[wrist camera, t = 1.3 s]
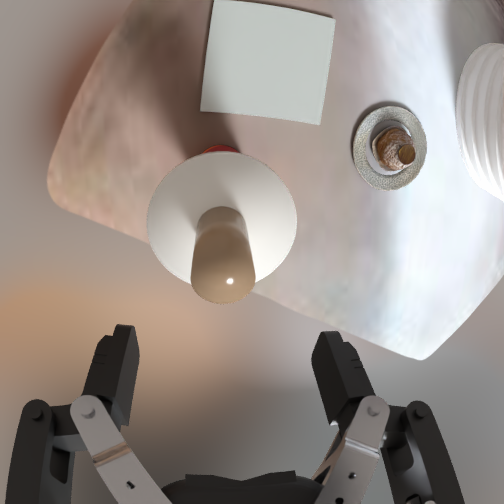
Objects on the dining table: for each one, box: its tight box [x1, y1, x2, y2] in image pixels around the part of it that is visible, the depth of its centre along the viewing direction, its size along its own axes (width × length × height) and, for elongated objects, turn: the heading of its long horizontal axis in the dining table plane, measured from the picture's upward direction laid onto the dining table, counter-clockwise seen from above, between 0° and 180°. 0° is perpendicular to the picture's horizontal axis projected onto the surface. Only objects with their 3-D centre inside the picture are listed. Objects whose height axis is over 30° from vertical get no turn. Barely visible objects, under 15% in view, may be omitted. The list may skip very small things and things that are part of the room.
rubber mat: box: [200, 0, 336, 125], centre depth 28 cm, size 14×14×1 cm
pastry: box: [353, 106, 427, 191], centre depth 34 cm, size 12×12×5 cm
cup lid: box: [147, 151, 297, 304], centre depth 19 cm, size 11×11×7 cm
